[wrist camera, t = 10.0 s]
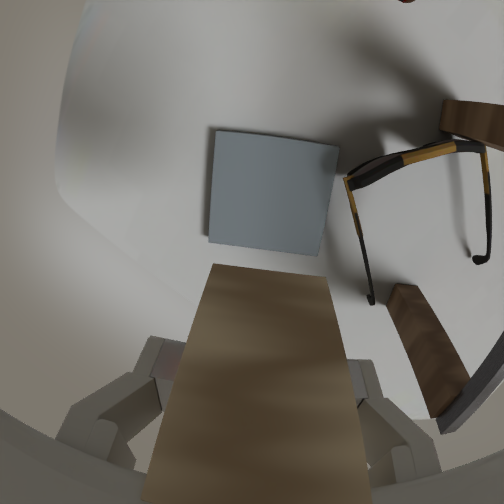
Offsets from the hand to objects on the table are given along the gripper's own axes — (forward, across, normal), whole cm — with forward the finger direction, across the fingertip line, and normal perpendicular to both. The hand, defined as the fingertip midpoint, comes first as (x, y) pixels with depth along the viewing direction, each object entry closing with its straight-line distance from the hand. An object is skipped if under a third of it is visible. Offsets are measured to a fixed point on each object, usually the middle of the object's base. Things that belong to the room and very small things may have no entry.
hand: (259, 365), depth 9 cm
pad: (+19, 0, 0) cm, 19 cm away
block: (+3, 0, 0) cm, 3 cm away
